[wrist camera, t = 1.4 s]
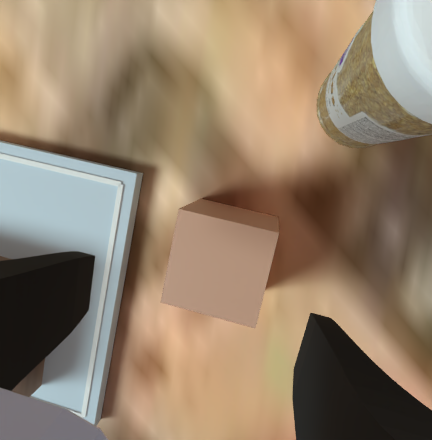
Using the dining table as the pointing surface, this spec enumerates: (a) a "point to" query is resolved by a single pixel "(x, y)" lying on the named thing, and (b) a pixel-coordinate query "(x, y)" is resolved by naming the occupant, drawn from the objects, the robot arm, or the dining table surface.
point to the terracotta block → (220, 261)
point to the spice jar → (382, 79)
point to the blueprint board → (72, 241)
